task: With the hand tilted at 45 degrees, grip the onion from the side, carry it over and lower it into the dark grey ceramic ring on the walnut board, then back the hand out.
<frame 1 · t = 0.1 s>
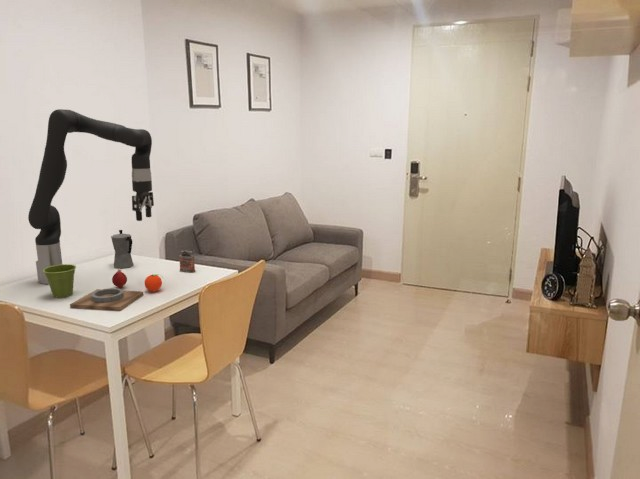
hand: (144, 218, 208), 29 cm above the table, tool pointing down, fingers open, 8 cm apart
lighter: (187, 271, 237), on the table
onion: (120, 288, 212), on the table
plant pot: (62, 295, 203), on the table
coffeepot: (125, 267, 244), on the table
clementine: (155, 291, 209), on the table
ring: (107, 295, 196), on the board, point 2 cm above the table
board: (108, 301, 196), on the table
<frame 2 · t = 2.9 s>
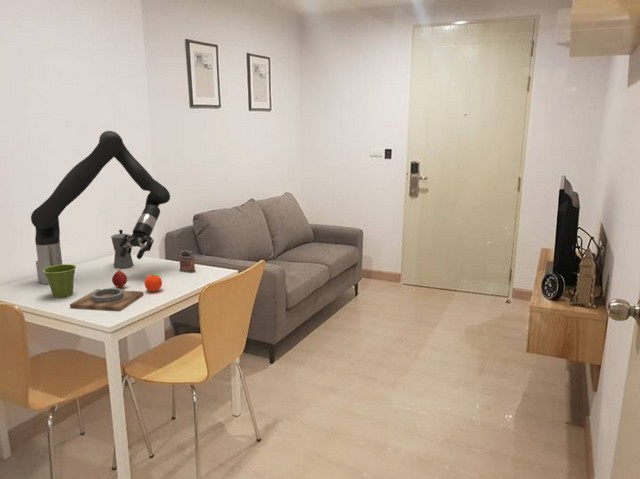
hand: (130, 257, 217), 11 cm above the table, tool tilted 45°, fingers open, 8 cm apart
nothing on the table moved.
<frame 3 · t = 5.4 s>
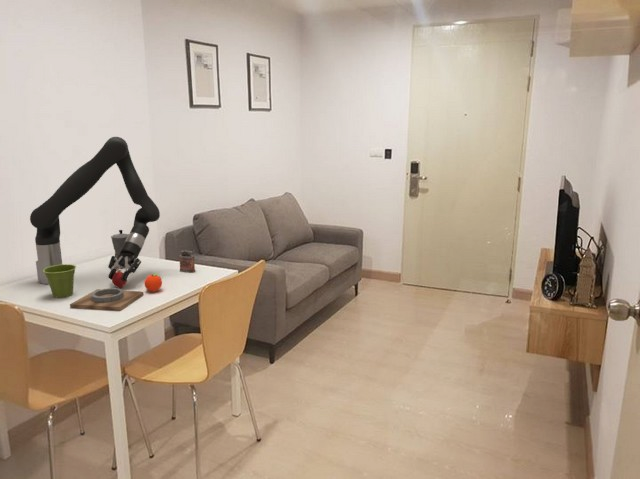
hand: (116, 279, 210), 4 cm above the table, tool tilted 45°, fingers closed on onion, 5 cm apart
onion: (120, 288, 212), on the table, touching gripper
everything else where it was.
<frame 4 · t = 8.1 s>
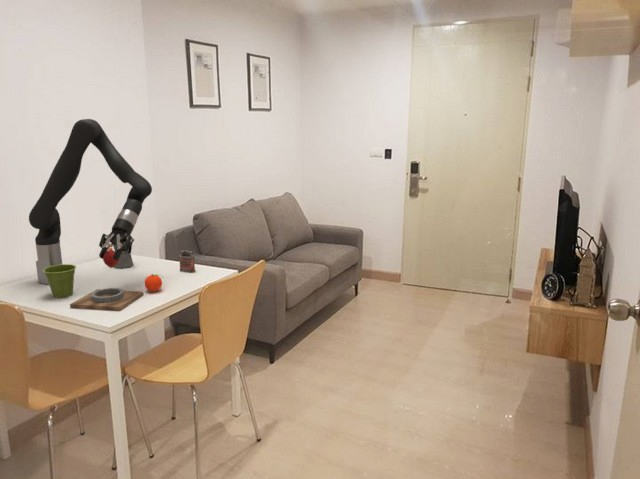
hand: (108, 258, 197), 16 cm above the table, tool tilted 45°, fingers closed on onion, 5 cm apart
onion: (112, 268, 200), point 12 cm above the table, touching gripper
everything else where it was.
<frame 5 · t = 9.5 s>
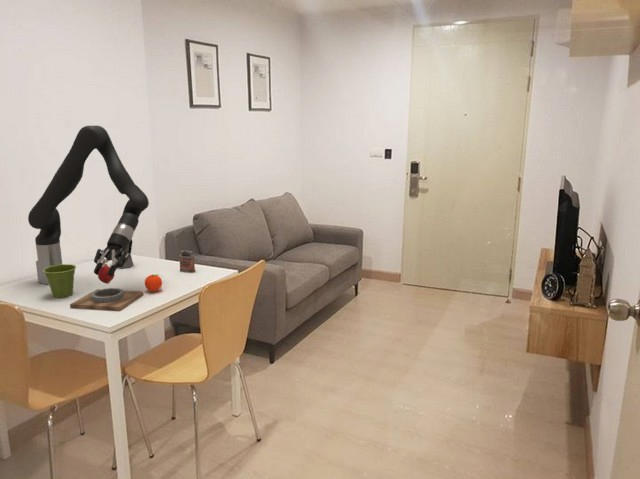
hand: (102, 274, 192), 11 cm above the table, tool tilted 45°, fingers closed on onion, 5 cm apart
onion: (107, 284, 195), point 7 cm above the table, touching gripper
everything else where it was.
when the fingers open (7 cm above the table, at t = 10.7 s): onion drops 1 cm, resting on board.
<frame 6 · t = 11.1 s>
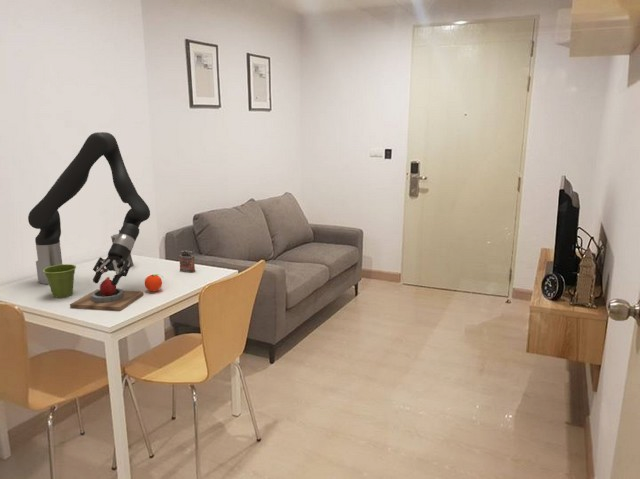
hand: (104, 283, 193), 8 cm above the table, tool tilted 45°, fingers open, 8 cm apart
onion: (108, 297, 196), point 1 cm above the table, touching board
everything else where it was.
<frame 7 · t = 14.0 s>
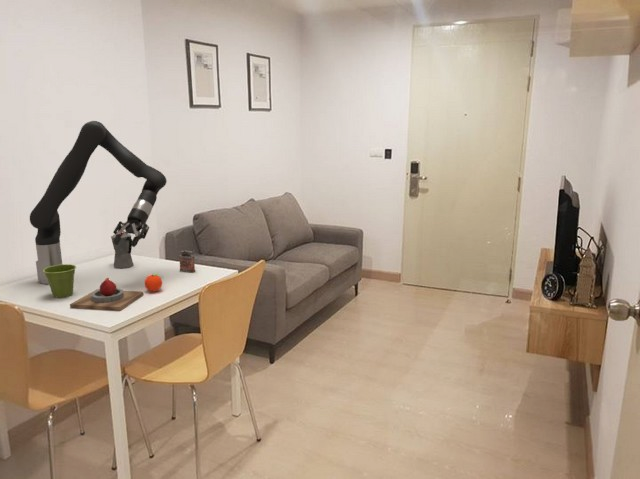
hand: (123, 244, 205), 19 cm above the table, tool tilted 45°, fingers open, 8 cm apart
nothing on the table moved.
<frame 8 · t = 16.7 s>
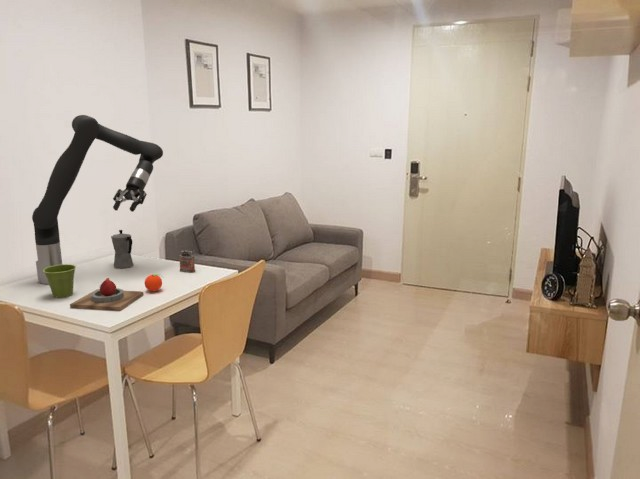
hand: (123, 210, 220), 31 cm above the table, tool tilted 45°, fingers open, 8 cm apart
nothing on the table moved.
at the end: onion 0.3 cm off-centre on the ring, point 1.3 cm above the ring's base; the gripper is holding nothing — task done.
